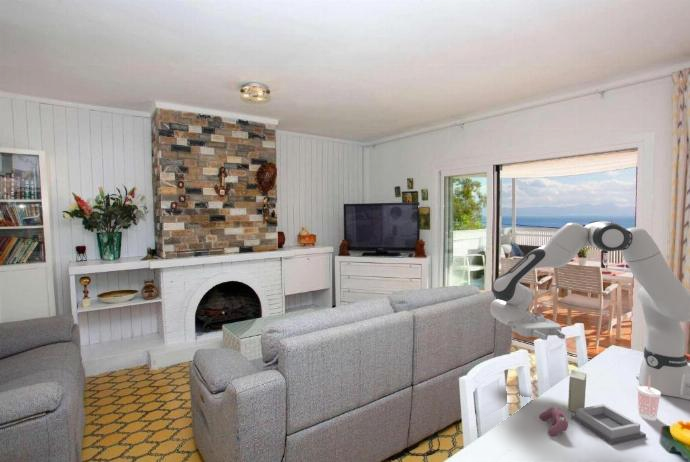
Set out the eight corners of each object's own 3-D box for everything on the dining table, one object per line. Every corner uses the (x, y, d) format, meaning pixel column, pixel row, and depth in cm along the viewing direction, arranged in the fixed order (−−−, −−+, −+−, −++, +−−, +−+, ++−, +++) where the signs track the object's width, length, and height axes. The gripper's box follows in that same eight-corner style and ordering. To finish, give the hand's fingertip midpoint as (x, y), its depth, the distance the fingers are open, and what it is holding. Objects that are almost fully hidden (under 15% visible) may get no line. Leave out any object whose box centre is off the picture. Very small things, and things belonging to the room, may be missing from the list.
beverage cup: (658, 414, 122) (660, 374, 121) (661, 424, 117) (663, 381, 116) (634, 409, 125) (636, 369, 124) (636, 418, 120) (638, 376, 119)
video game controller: (561, 443, 110) (574, 424, 109) (547, 434, 111) (559, 416, 110) (550, 424, 120) (561, 406, 119) (537, 416, 121) (548, 399, 120)
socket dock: (602, 412, 124) (602, 402, 124) (645, 437, 110) (646, 426, 110) (571, 418, 120) (571, 407, 120) (612, 444, 107) (612, 433, 107)
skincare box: (570, 402, 130) (571, 369, 129) (585, 407, 127) (586, 373, 126) (567, 410, 125) (568, 375, 124) (583, 415, 122) (584, 379, 121)
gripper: (506, 314, 142) (536, 330, 130) (543, 314, 150) (575, 328, 138) (503, 330, 143) (532, 346, 131) (540, 328, 151) (571, 344, 139)
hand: (555, 337), depth 134 cm, fingers open, 8 cm apart
